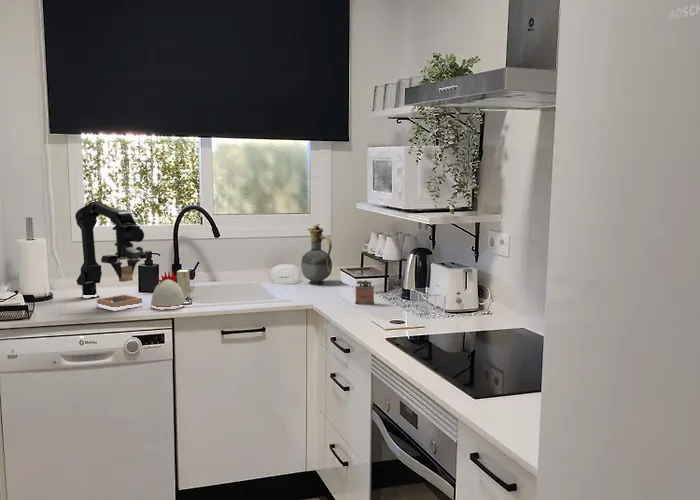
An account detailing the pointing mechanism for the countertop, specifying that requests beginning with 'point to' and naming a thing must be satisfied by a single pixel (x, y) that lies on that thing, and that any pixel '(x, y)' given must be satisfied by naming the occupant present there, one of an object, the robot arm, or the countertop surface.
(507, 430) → the countertop surface
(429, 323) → the countertop surface
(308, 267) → the pitcher
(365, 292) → the lighter
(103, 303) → the brown square tray
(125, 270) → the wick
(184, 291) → the skincare box
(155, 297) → the grey crested dome
